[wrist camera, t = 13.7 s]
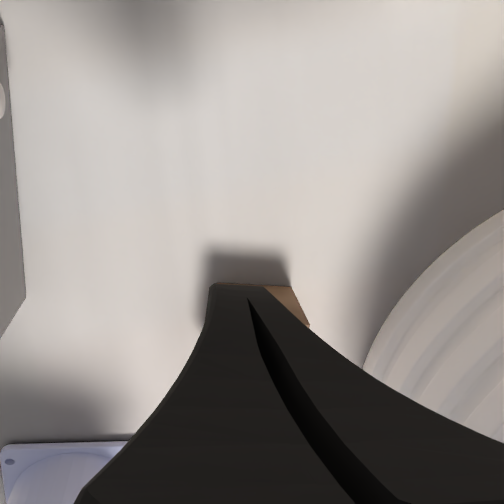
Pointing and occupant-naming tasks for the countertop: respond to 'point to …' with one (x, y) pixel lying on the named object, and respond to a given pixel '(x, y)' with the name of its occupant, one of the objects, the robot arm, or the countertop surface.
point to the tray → (8, 208)
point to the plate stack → (451, 334)
